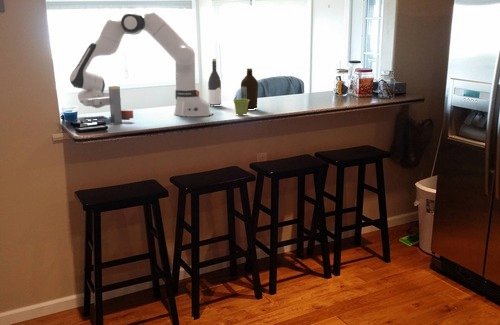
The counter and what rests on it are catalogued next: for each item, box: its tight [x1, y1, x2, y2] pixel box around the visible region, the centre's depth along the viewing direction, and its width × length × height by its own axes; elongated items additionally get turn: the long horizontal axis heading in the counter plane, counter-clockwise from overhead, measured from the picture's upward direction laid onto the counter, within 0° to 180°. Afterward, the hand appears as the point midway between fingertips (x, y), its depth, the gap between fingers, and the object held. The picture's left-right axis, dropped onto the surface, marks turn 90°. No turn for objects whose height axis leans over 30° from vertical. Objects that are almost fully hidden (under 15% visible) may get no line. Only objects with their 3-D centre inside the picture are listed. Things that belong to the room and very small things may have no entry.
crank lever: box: [108, 109, 134, 121], centre depth 260 cm, size 13×4×5 cm, turn 86°
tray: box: [80, 115, 112, 125], centre depth 256 cm, size 12×12×2 cm
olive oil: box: [240, 68, 259, 109], centre depth 300 cm, size 11×11×25 cm
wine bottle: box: [207, 58, 222, 105], centre depth 316 cm, size 8×8×30 cm
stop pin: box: [108, 85, 123, 125], centre depth 253 cm, size 4×4×19 cm
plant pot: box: [233, 98, 250, 116], centre depth 282 cm, size 9×9×9 cm
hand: (108, 102), depth 258 cm, fingers open, 8 cm apart
